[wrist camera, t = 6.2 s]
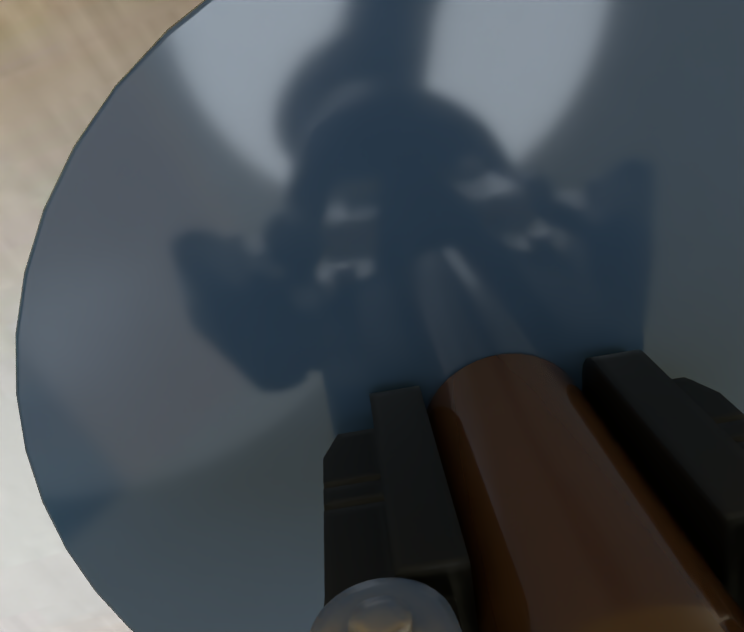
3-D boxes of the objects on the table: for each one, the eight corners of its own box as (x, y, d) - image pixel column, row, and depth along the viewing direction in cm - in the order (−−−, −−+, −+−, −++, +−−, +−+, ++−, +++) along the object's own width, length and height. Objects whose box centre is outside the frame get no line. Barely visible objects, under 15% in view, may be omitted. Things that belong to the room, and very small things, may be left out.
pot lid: (-27, 598, 12) (-347, 1115, 6) (189, -318, 7) (-244, -1491, 2) (634, 745, 15) (837, 1199, 9) (1085, 140, 10) (2071, 274, 4)
